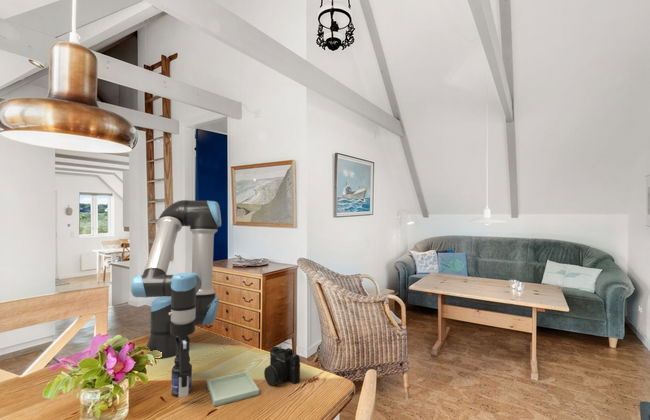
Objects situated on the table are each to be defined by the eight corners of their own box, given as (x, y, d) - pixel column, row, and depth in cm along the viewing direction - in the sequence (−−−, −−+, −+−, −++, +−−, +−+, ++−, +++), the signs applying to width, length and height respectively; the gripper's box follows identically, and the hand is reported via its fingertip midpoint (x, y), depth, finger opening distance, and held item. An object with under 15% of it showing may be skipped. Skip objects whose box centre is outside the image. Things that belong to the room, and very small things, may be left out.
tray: (206, 385, 110) (206, 379, 110) (247, 375, 117) (247, 370, 117) (214, 406, 98) (214, 401, 98) (258, 395, 105) (259, 389, 105)
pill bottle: (183, 398, 102) (184, 363, 102) (166, 395, 104) (167, 361, 104) (195, 388, 108) (196, 355, 108) (179, 385, 110) (179, 353, 110)
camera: (254, 377, 116) (255, 350, 116) (277, 367, 124) (278, 341, 124) (279, 392, 107) (280, 362, 107) (302, 380, 114) (303, 352, 115)
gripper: (168, 312, 115) (166, 372, 115) (173, 335, 94) (171, 409, 93) (190, 309, 119) (189, 367, 119) (200, 331, 97) (198, 402, 97)
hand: (181, 386), depth 106 cm, fingers open, 13 cm apart
